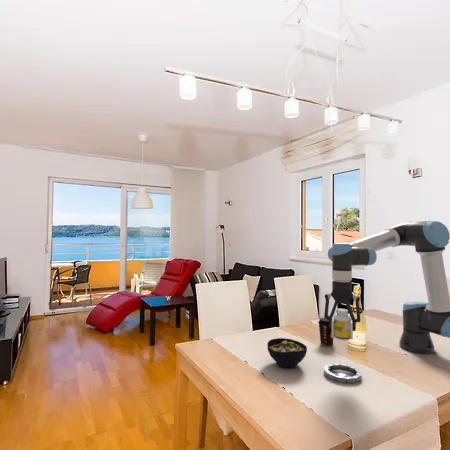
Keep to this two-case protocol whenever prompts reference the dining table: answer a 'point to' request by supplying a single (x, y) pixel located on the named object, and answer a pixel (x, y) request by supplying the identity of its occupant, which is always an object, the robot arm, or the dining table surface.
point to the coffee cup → (325, 332)
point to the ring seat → (342, 373)
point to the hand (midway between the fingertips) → (342, 337)
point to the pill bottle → (342, 325)
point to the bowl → (286, 352)
